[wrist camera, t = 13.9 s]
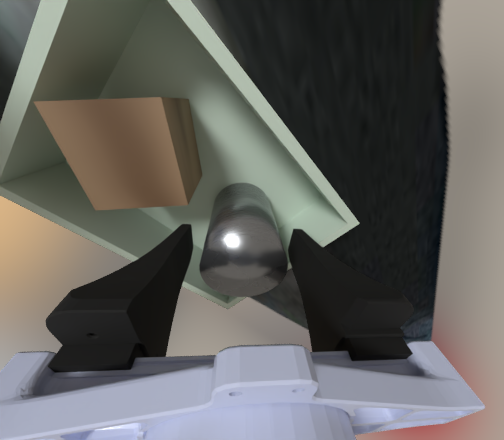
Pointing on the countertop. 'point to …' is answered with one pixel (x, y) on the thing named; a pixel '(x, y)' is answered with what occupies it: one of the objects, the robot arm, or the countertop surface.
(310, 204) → the green tote
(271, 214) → the grey metal cylinder
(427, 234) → the countertop surface
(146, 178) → the brown cube
